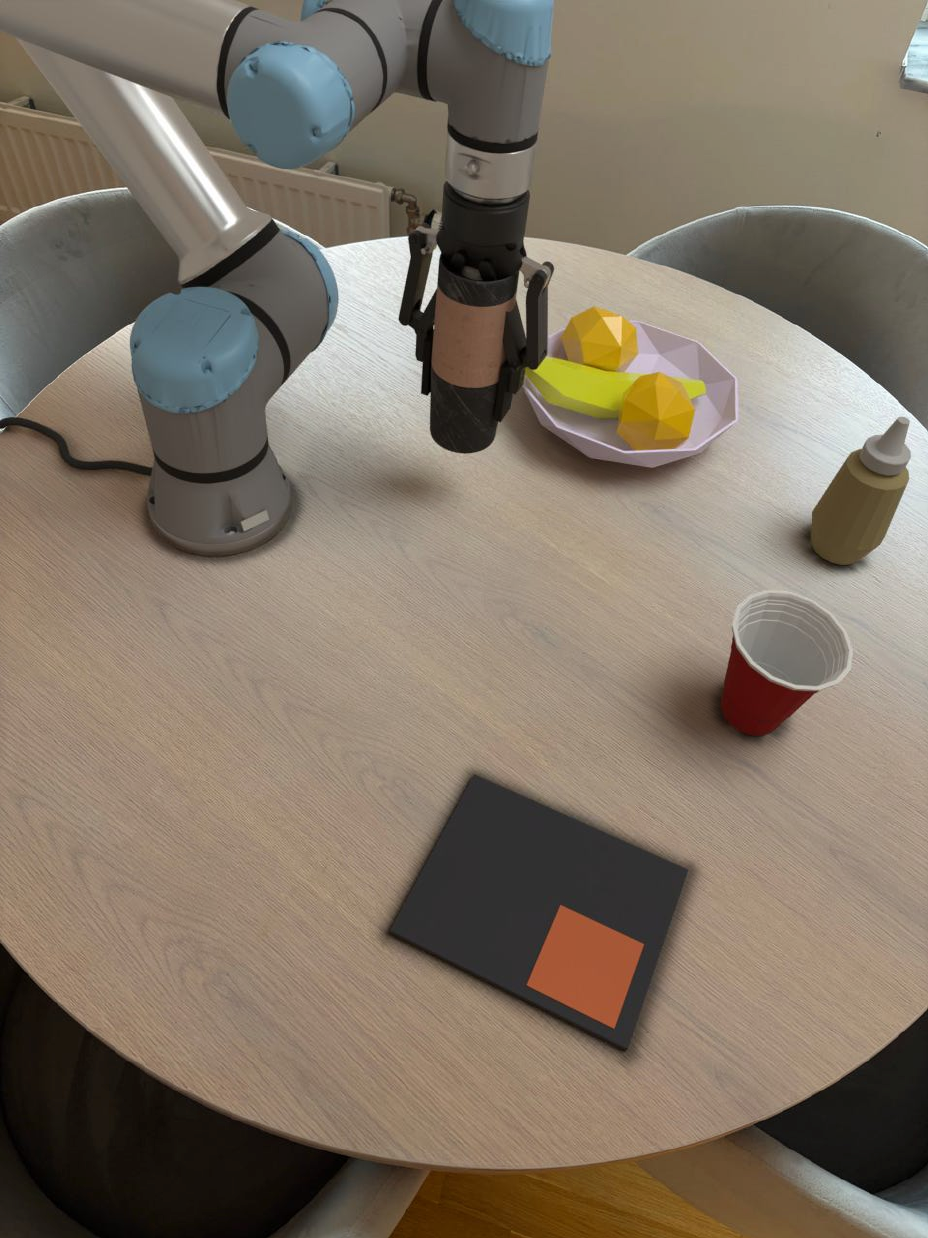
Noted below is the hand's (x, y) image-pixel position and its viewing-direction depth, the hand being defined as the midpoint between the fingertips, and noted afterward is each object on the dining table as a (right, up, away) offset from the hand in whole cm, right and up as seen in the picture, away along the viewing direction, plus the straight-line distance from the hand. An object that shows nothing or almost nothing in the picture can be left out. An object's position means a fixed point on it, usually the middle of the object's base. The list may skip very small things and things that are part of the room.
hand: (465, 400), depth 99 cm
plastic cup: (+28, -32, -7) cm, 43 cm away
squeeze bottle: (+42, -15, +9) cm, 45 cm away
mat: (+6, -46, -21) cm, 51 cm away
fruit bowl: (+19, +2, +21) cm, 28 cm away
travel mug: (0, -3, +3) cm, 4 cm away
